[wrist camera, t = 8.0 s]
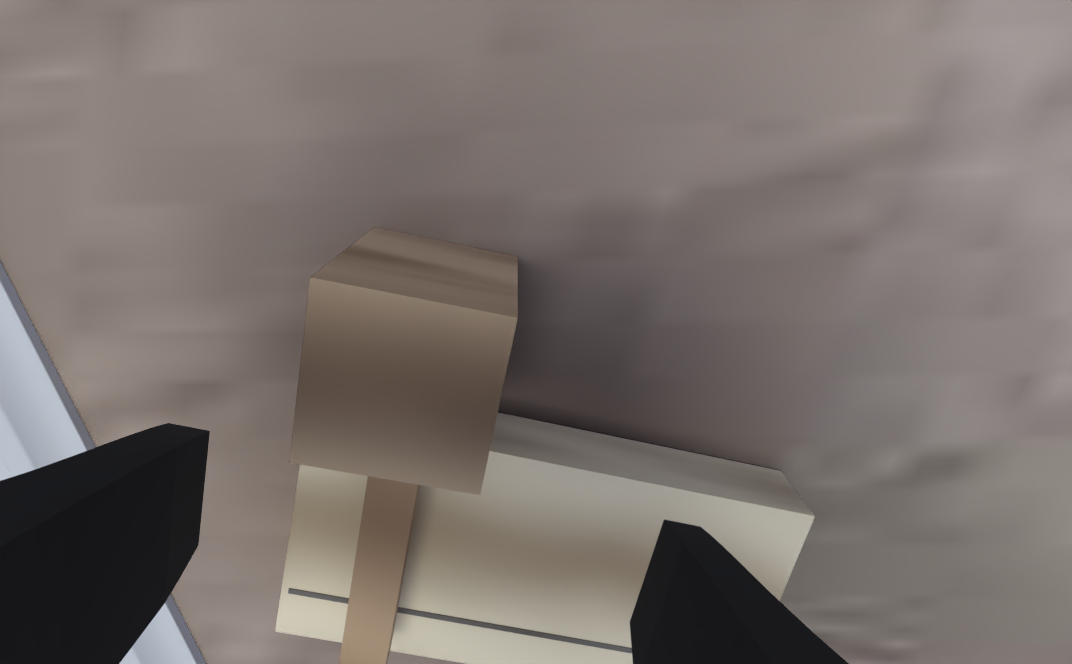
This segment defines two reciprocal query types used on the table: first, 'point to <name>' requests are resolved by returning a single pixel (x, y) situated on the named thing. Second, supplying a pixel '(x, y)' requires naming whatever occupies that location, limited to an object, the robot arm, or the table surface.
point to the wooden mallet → (401, 394)
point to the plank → (537, 545)
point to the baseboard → (61, 450)
